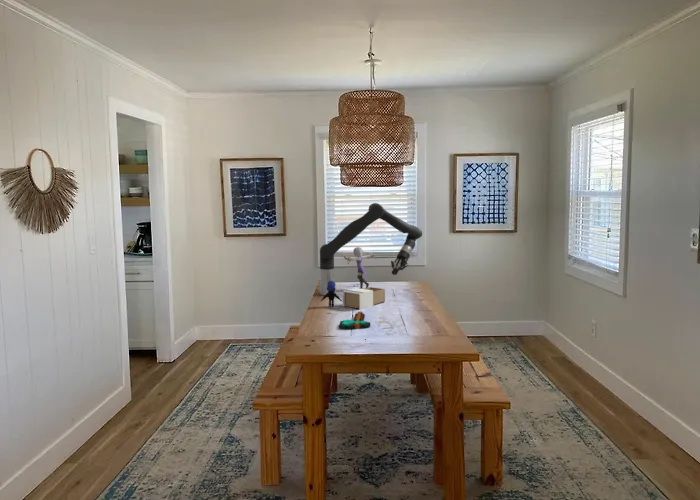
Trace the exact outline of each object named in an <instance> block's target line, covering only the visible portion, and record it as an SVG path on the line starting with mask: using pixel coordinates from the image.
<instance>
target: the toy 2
mask: <svg viewBox="0 0 700 500" xmlns="http://www.w3.org/2000/svg"><path fill="white" fill-rule="evenodd" d="M365 317H366V314H365V313H363V311H357V313H355V314H354V318H353V320H352V319H349V318H348V319H343V320H340V321H339V325H338V328H339V329H341V330H352V329H355V330H359V329H363V328H364V329H367V328H370V327H371V321H366V320H365Z"/></svg>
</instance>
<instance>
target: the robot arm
mask: <svg viewBox="0 0 700 500" xmlns="http://www.w3.org/2000/svg"><path fill="white" fill-rule="evenodd" d="M379 219H380V220H382V221H384V222H385V223H387V224H388V225H390V226H392V227H393V229H396V231H399V232H400V233H402V234H407V236H406V239H405V241H404V243H403V245H402V246H401V248H400V250H399V252H398V253H397V256H396V258H395V259H394V260H391V261H390V265H391V268H392V271H391V274H392V275H393V276H397V274H398V273H399V272H400V271H403V270H405V269H406V268H408V267H409V263H408V261H409V259H410V257H411V255H412V254H413V253H412V252H413V250H414V249H415V247H416V241H417V240H418V239H420V238H421V237H422V236H423V231H422V229H420V228H419V227H418V226H415V225H413V224H410V223H408V222H406V221H405V220H403V219H401V218H399V217H397V216H396V215H393V214H391V213H390V212H389V211H387V210H386V209H385V208H384V207H383V206H382V205H381V204H380V203H377V202H374V203H371V204H370V205H369V206H368V211H367V212H365V214H364V215H363V216H360V217H359V218H357V219H355V220H353V221H352V222H350V223H349V224H347V225H346V226H345V227H344V228H343V229H342V230H341V231H340V232H339V233H338V234H337V235H336V237H334V239H332V240H331V241H329V242H328V243H325V244H323V245H321V246H320V248H319V274H320V275H319V278H320V279H319V282H318V283H319V287H318V288H319V290H318V291H319V295H321V296H325V294H327V293H328V290H327V286H328V285H327V284H328V282H329V281H334V282H335V254H336V253H337V252H338V251H339V250H340V249H342V248H343V247H344V246H345V245H347V244H348V243H350V242H351V241H353V240H354V239H355V238H357V237H358V236H359V235H360V234H362V232H363V231H364V230H365V229H366V228H368V227H369V226H370V225H371V224H373V223H374V222H376V221H377V220H379Z"/></svg>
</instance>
